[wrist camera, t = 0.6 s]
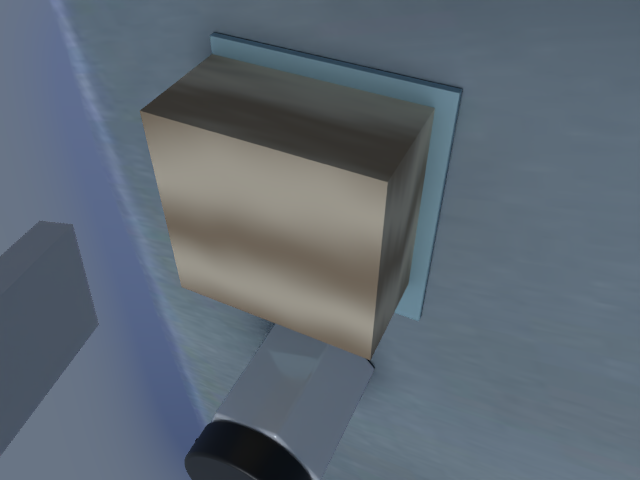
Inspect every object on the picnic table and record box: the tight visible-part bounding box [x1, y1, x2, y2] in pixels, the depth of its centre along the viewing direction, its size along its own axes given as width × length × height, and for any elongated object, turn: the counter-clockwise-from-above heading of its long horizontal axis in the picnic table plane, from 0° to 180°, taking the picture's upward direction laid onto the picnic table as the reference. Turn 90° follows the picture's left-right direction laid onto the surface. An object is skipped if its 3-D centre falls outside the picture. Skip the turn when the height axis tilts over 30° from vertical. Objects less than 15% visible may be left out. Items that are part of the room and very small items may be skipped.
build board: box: [210, 33, 462, 321], centre depth 34 cm, size 16×13×1 cm
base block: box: [140, 54, 435, 360], centre depth 32 cm, size 12×12×6 cm
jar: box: [185, 323, 374, 480], centre depth 42 cm, size 9×8×12 cm
